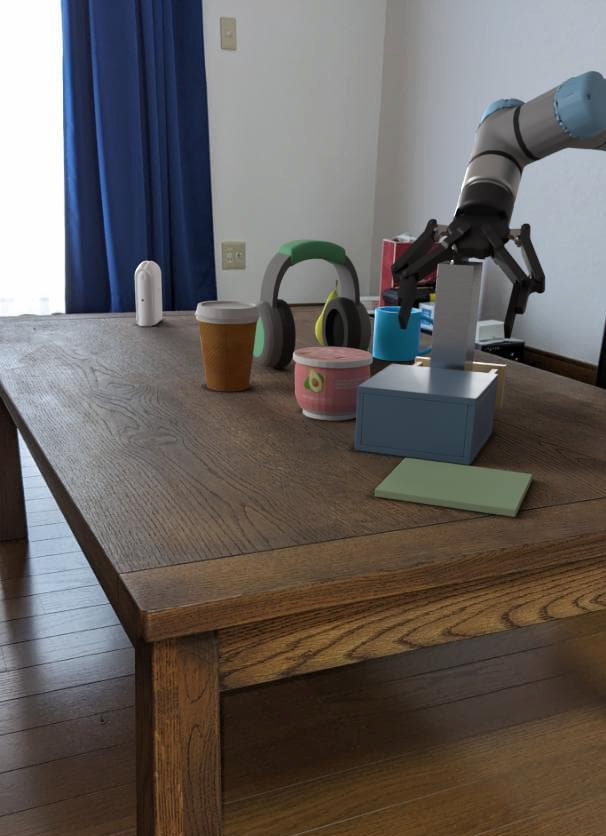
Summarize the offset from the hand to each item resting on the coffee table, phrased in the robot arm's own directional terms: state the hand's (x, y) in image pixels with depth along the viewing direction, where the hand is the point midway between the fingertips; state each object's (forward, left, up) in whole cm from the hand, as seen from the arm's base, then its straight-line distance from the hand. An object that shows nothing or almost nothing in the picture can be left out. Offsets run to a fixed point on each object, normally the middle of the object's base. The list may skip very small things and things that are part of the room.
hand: (453, 327), depth 115 cm
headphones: (+29, -25, -12) cm, 40 cm away
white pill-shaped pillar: (+74, -51, -12) cm, 91 cm away
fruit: (+31, -42, -12) cm, 54 cm away
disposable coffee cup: (+34, -4, -12) cm, 36 cm away
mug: (+16, -40, -12) cm, 45 cm away
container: (+15, +4, -12) cm, 20 cm away
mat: (-7, +28, -12) cm, 31 cm away
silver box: (0, 0, -10) cm, 10 cm away
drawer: (0, -2, -11) cm, 11 cm away
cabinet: (0, +12, -12) cm, 17 cm away
